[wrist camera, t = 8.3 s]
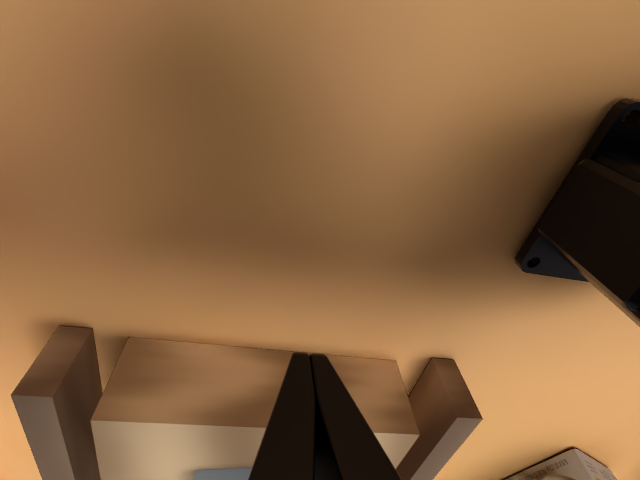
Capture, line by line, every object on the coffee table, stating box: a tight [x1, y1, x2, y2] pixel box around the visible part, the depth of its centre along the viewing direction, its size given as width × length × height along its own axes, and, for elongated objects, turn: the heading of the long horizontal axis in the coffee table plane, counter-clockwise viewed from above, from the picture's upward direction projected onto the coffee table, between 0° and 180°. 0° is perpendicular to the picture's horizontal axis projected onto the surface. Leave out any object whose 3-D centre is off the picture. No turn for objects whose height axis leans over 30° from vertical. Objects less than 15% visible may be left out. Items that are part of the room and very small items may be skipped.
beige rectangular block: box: [91, 337, 420, 480], centre depth 17 cm, size 12×10×4 cm
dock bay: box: [11, 326, 483, 480], centre depth 18 cm, size 17×13×3 cm
